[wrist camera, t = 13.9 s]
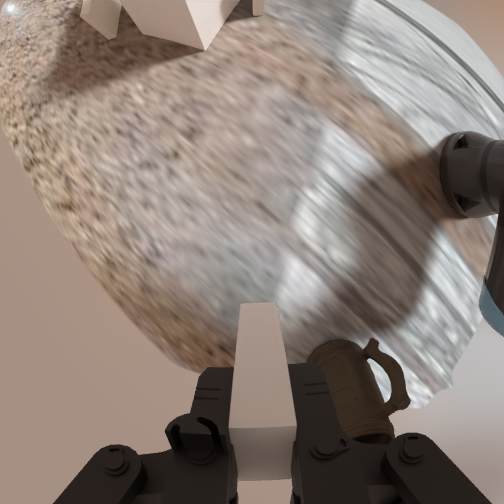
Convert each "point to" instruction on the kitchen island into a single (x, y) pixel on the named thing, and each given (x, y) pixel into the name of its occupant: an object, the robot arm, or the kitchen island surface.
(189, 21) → the milk
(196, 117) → the kitchen island surface
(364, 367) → the beer stein
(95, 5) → the cubby
